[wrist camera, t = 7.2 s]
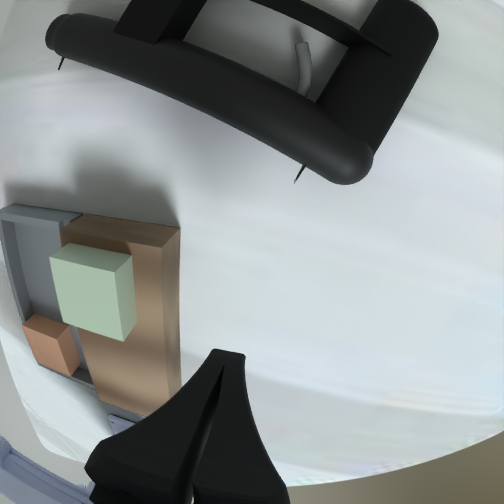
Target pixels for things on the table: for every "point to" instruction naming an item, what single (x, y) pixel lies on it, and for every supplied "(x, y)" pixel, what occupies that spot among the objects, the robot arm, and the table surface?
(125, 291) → the sage tile
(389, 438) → the table surface
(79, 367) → the charcoal tray
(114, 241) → the walnut ledge
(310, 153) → the door handle
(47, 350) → the terracotta block
